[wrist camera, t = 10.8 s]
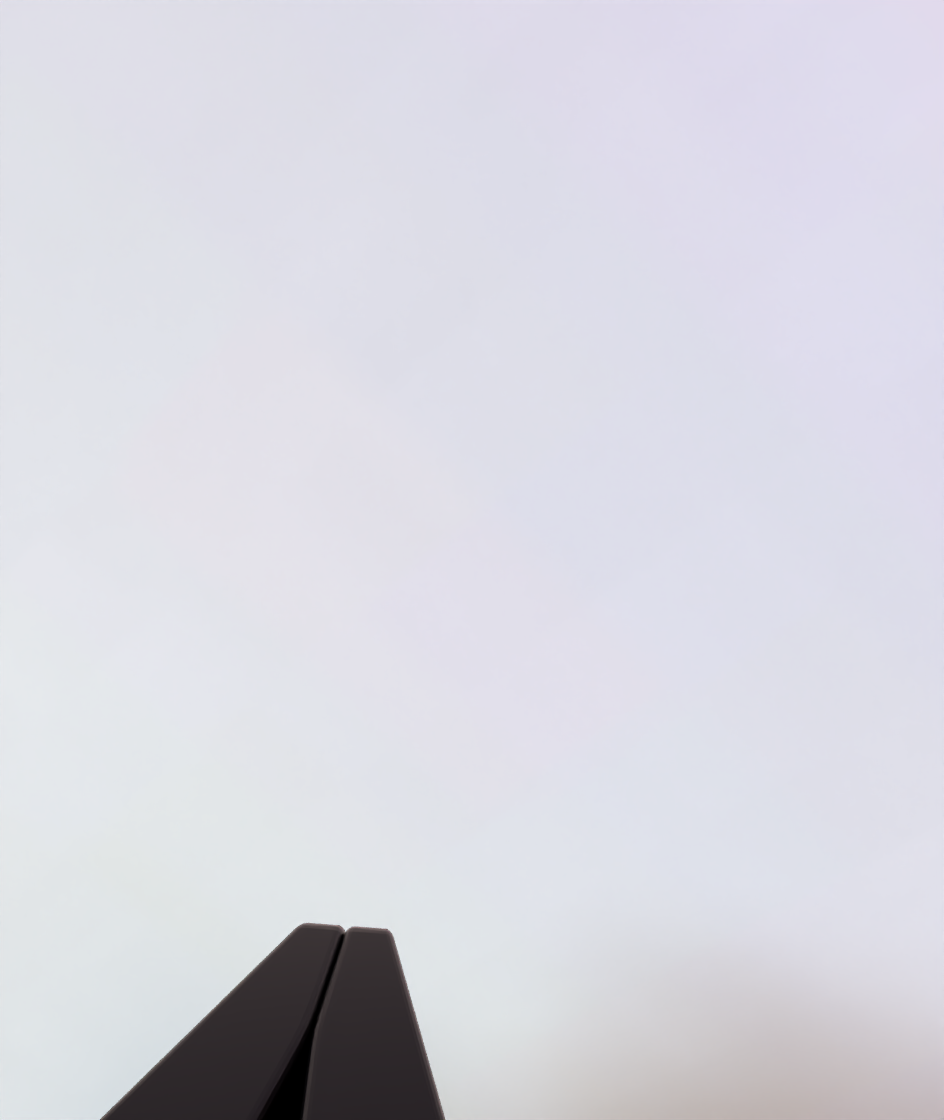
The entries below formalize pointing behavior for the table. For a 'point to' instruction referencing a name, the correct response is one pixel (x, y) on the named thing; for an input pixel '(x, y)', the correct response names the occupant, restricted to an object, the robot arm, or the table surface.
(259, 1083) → the robot arm
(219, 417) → the table surface
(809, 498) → the table surface
